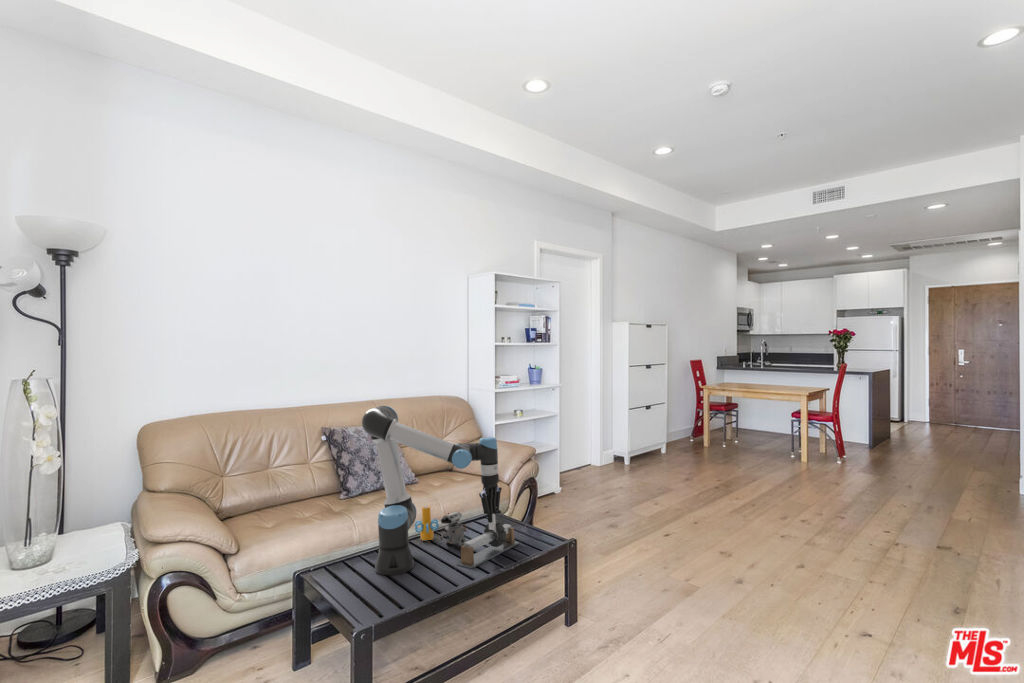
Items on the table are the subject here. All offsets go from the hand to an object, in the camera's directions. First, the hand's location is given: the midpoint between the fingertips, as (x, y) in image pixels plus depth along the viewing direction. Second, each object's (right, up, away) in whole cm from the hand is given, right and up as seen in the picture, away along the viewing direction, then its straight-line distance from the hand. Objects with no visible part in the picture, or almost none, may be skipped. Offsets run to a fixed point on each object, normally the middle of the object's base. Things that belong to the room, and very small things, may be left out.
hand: (492, 529), depth 221 cm
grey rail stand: (-1, -10, -2) cm, 10 cm away
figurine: (-18, -11, +7) cm, 22 cm away
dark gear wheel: (+1, -8, +1) cm, 8 cm away
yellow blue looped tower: (-31, -12, +19) cm, 39 cm away
